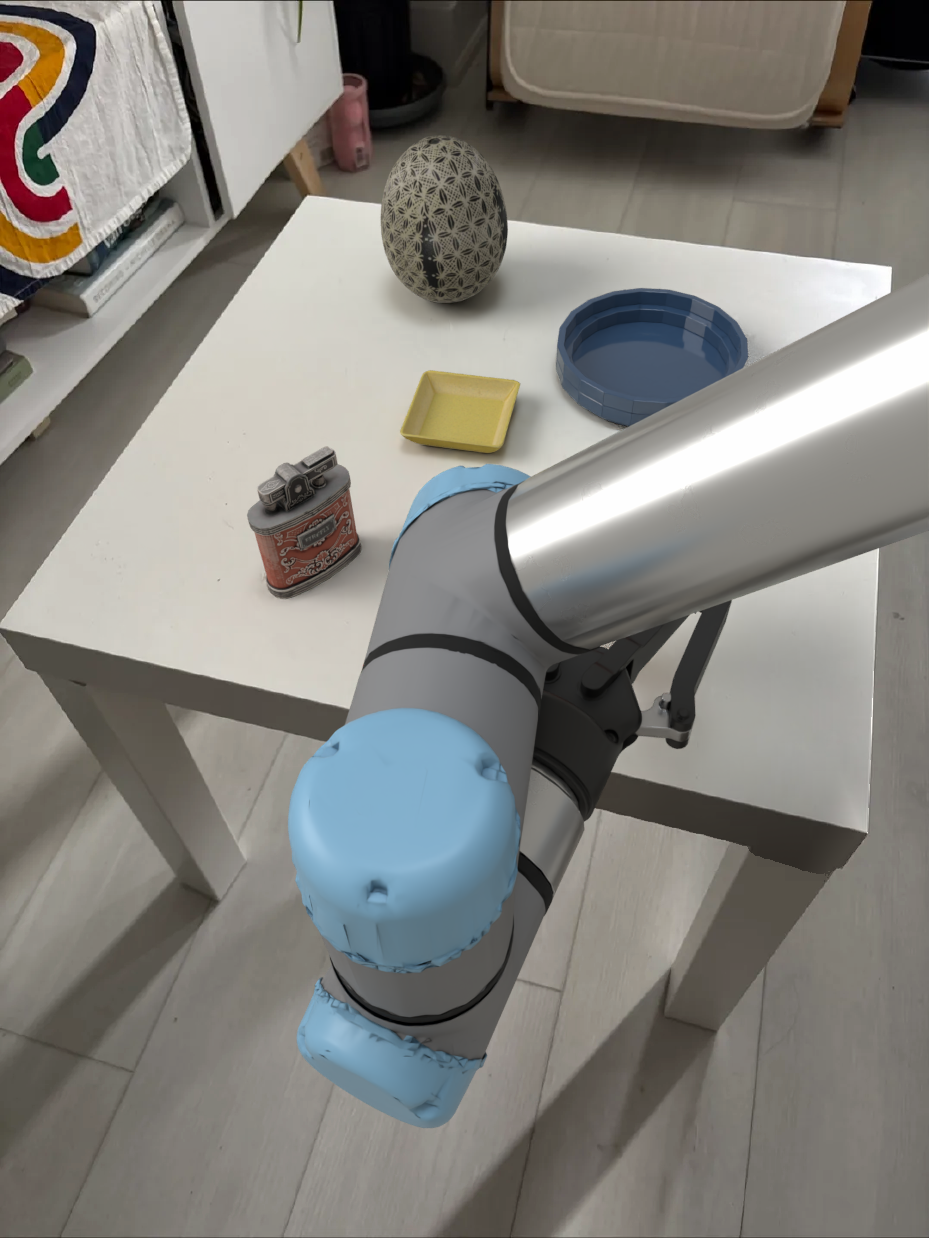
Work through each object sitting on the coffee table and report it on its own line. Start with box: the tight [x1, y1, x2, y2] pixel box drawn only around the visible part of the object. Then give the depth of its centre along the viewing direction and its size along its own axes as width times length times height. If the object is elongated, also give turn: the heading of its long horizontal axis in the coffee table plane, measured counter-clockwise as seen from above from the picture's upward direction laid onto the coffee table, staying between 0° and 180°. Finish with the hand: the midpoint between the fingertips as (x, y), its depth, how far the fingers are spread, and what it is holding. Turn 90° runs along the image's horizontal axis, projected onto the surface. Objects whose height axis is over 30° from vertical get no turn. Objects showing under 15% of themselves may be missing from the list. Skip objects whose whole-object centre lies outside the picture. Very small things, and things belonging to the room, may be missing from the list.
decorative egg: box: [380, 134, 509, 304], centre depth 89 cm, size 12×12×15 cm
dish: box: [555, 287, 749, 427], centre depth 85 cm, size 16×16×4 cm
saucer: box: [399, 369, 521, 454], centre depth 82 cm, size 9×9×2 cm
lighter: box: [246, 446, 363, 600], centre depth 69 cm, size 8×3×10 cm, turn 131°
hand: (670, 490), depth 61 cm, fingers closed on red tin, 5 cm apart
